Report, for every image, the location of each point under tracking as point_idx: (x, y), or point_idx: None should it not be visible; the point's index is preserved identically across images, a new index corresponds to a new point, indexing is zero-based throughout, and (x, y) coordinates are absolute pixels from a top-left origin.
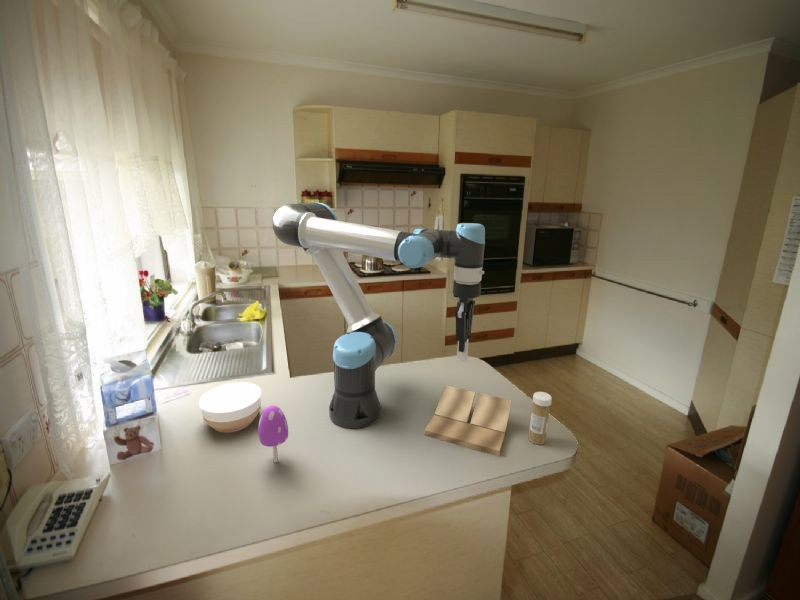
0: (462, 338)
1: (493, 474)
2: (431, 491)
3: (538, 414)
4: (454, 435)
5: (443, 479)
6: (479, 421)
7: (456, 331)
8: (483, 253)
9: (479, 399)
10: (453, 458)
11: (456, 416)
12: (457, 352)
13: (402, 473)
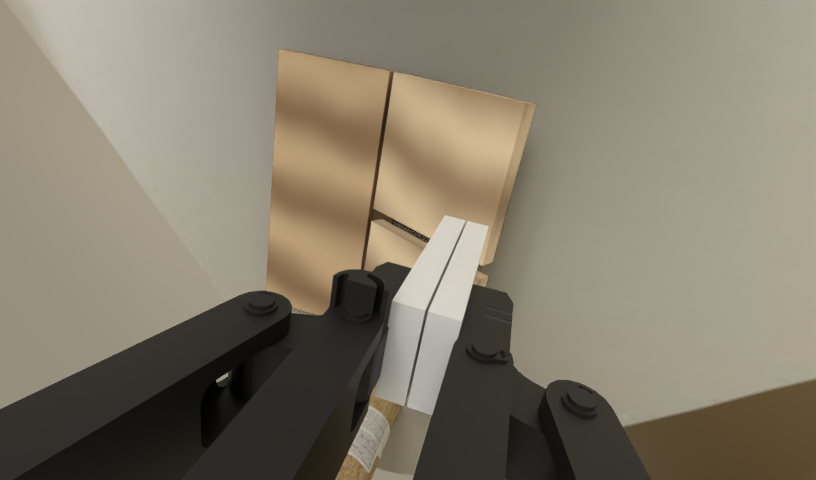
0: (212, 384)
1: (207, 269)
2: (93, 118)
3: None
4: (287, 167)
5: (140, 145)
6: (377, 255)
7: (106, 369)
8: None
9: None
10: (221, 166)
11: (388, 169)
12: (429, 243)
13: (108, 21)
